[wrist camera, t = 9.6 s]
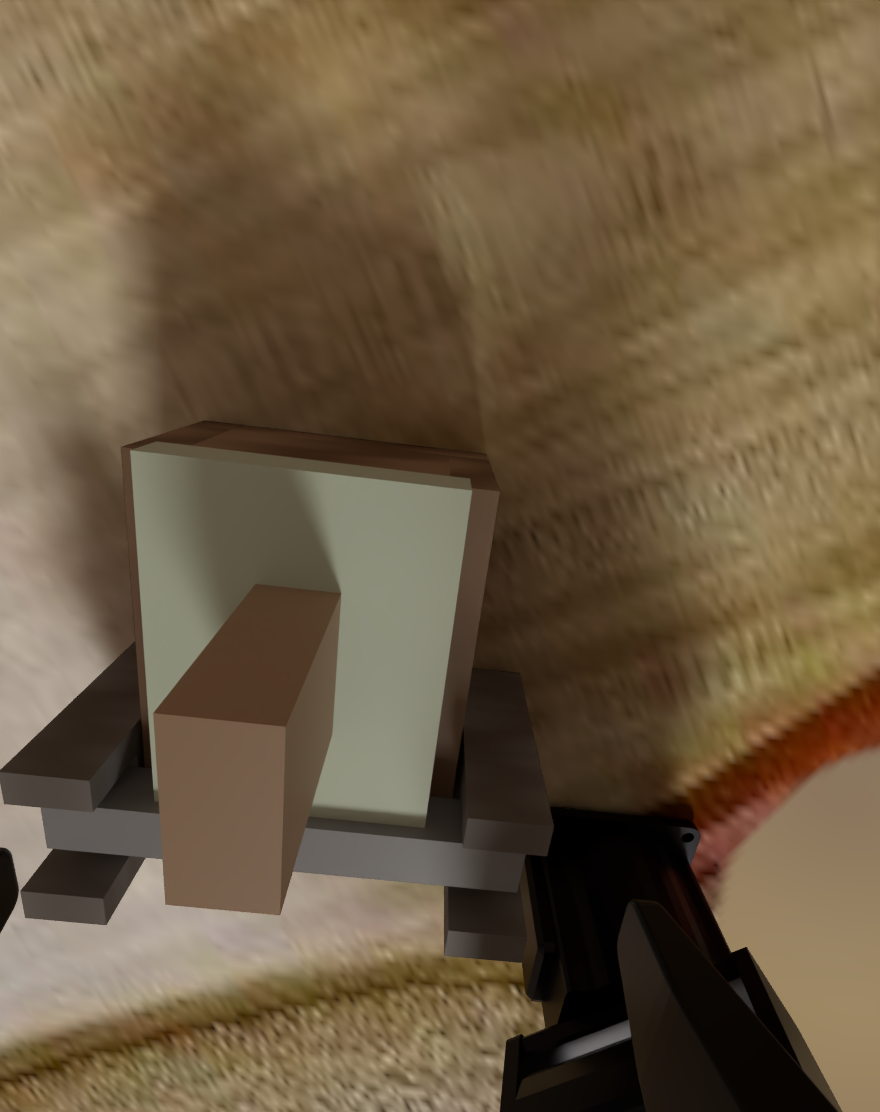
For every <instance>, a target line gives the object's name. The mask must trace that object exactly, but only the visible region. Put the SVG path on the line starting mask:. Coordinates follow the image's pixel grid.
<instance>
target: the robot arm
mask: <svg viewBox="0 0 880 1112" xmlns="http://www.w3.org/2000/svg"><path fill="white" fill-rule="evenodd" d="M550 811H551V815H552V820H554V819H555V821H553V824H554V829H553V833H552V837H551V841H550V846H549V850H548V854H547V856H538V855H528V854H526V855H525V860H524V864H523V869H522V873H521V878H520V889H521V896H522V903H523V910H524V917H525V925H526V932H527V941H526V945H525V950H524V954H523V958H522V968H523V976H524V984H525V992H526V994H527V996H528V997H529V998H530V999H531V1001H535V1002H542V1008H543V1014H544V1021H545V1029H543V1030H540V1031H538V1032H535V1033H532V1034H530V1035H527V1036H525V1037H524V1036H523V1035H522V1034H521V1035H518V1036H515V1037H513V1038H510V1039H508V1040H507V1041H506V1050H505V1061H504V1072H503V1083H502V1094H501V1105H500V1112H842V1110H841V1108H840V1106H839V1105H838V1102H837V1100H836V1098H835V1097H834V1095H833V1093H832V1091H831V1089H830V1087H829V1085H828V1084H827V1082H826V1080H825V1078H824V1076H823V1074H822V1073H821V1070H820V1069H819V1067H818V1065H817V1063H816V1061H815V1059H814V1057H813V1056H812V1054H811V1052H810V1050H809V1048H808V1046H807V1044H806V1042H805V1040H804V1039H803V1037H802V1035H801V1033H800V1031H799V1029H798V1028H797V1026H796V1025H795V1023H794V1021H793V1020H792V1018H791V1016H790V1015H789V1013H788V1012H787V1010H786V1009H785V1007H784V1005H783V1004H782V1002H781V1001H780V999H779V997H778V996H777V995H776V993H775V991H774V990H773V988H772V986H771V985H770V983H769V982H768V980H767V978H766V977H765V975H764V974H763V972H762V971H761V969H760V967H759V966H758V964H757V963H756V961H755V960H754V958H753V956H752V955H751V953H750V952H749V950H748V948H747V947H745V948H742V949H740V950H737V951H735V952H732V953H731V951H730V949H729V947H728V945H727V943H726V941H725V938H724V936H723V934H722V932H721V930H720V928H719V926H718V923H717V921H716V919H715V917H714V915H713V913H712V911H711V909H710V906H709V904H708V902H707V900H706V898H705V896H704V894H703V892H702V889H701V887H700V885H699V883H698V881H697V879H696V877H695V875H694V872H693V870H692V868H691V866H690V865H691V863H692V860H693V857H694V854H695V852H696V849H697V846H698V843H699V840H700V833H699V831H698V829H697V827H696V825H695V824H694V823H693V822H691V821H687V820H678V819H668V818H658V817H648V816H637V815H627V814H617V813H607V812H597V811H587V810H577V809H567V808H557V807H550ZM686 833H687V834H686ZM684 834H685V835H684ZM18 892H19V888H18V882H17V877H16V873H15V868H14V863H13V858H12V854H11V852H10V851H9V850H8V849H6V848H0V933H1V931H2V929H3V927H4V926H5V924H6V922H7V920H8V918H9V916H10V915H11V913H12V911H13V909H14V907H15V904H16V902H17V898H18Z"/></svg>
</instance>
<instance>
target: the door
mask: <svg viewBox="0 0 880 1112" xmlns="http://www.w3.org/2000/svg"><path fill="white" fill-rule="evenodd" d="M130 455H131V469H132V484H133V498H134V513H135V528H136V542H137V557H138V571H139V586H140V601H141V615H142V630H143V644H144V659H145V674H146V688H147V703H148V717H149V732H150V746H151V761H152V768H142V767H132V766H128V767H127V768H126V769H125V771H124V772H123V773H122V775H121V776H120V777H119V779H118V780H117V781H116V783H115V784H114V785H113V787H112V788H111V789H110V791H109V792H108V793H107V795H106V796H105V797H104V799H103V800H102V801H101V803H100V804H99V805H98V807H97V808H96V809H95V811H94V812H83V811H72V810H62V809H52V808H41V812H42V819H43V825H44V831H45V838H46V844H47V848H51V849H62V850H72V851H83V852H93V853H104V854H114V855H125V856H135V857H146V858H156V859H163V873H164V889H165V904H166V905H176V906H186V907H197V908H208V909H219V910H230V911H240V912H251V913H262V914H273V915H280V914H281V910H282V907H283V903H284V900H285V896H286V893H287V889H288V886H289V883H290V879H291V876H292V872H304V873H314V874H325V875H335V876H346V877H356V878H367V879H377V880H388V881H398V882H409V883H420V884H430V885H441V886H451V887H462V888H472V889H483V890H493V891H504V892H514V893H517V891H518V887H519V882H520V878H521V873H522V869H523V864H524V860H525V855H526V854H517V853H507V852H497V851H486V850H476V849H465V848H463V845H462V816H461V799H451V798H442V797H432V796H429V794H430V787H431V780H432V773H433V765H434V758H435V751H436V744H437V737H438V730H439V723H440V716H441V709H442V702H443V695H444V687H445V680H446V673H447V666H448V659H449V652H450V645H451V638H452V631H453V624H454V616H455V609H456V602H457V595H458V588H459V581H460V574H461V567H462V560H463V553H464V545H465V538H466V531H467V524H468V517H469V510H470V503H471V496H472V487H471V481H470V479H469V478H461V477H452V476H444V475H436V474H427V473H419V472H410V471H402V470H393V469H385V468H377V467H368V466H360V465H351V464H343V463H334V462H326V461H318V460H309V459H301V458H292V457H284V456H275V455H267V454H258V453H250V452H242V451H233V450H225V449H216V448H208V447H199V446H191V445H183V444H174V443H166V442H157V441H156V442H153V443H150V444H147V445H144V446H141V447H138V448H135V449H132V450H130Z"/></svg>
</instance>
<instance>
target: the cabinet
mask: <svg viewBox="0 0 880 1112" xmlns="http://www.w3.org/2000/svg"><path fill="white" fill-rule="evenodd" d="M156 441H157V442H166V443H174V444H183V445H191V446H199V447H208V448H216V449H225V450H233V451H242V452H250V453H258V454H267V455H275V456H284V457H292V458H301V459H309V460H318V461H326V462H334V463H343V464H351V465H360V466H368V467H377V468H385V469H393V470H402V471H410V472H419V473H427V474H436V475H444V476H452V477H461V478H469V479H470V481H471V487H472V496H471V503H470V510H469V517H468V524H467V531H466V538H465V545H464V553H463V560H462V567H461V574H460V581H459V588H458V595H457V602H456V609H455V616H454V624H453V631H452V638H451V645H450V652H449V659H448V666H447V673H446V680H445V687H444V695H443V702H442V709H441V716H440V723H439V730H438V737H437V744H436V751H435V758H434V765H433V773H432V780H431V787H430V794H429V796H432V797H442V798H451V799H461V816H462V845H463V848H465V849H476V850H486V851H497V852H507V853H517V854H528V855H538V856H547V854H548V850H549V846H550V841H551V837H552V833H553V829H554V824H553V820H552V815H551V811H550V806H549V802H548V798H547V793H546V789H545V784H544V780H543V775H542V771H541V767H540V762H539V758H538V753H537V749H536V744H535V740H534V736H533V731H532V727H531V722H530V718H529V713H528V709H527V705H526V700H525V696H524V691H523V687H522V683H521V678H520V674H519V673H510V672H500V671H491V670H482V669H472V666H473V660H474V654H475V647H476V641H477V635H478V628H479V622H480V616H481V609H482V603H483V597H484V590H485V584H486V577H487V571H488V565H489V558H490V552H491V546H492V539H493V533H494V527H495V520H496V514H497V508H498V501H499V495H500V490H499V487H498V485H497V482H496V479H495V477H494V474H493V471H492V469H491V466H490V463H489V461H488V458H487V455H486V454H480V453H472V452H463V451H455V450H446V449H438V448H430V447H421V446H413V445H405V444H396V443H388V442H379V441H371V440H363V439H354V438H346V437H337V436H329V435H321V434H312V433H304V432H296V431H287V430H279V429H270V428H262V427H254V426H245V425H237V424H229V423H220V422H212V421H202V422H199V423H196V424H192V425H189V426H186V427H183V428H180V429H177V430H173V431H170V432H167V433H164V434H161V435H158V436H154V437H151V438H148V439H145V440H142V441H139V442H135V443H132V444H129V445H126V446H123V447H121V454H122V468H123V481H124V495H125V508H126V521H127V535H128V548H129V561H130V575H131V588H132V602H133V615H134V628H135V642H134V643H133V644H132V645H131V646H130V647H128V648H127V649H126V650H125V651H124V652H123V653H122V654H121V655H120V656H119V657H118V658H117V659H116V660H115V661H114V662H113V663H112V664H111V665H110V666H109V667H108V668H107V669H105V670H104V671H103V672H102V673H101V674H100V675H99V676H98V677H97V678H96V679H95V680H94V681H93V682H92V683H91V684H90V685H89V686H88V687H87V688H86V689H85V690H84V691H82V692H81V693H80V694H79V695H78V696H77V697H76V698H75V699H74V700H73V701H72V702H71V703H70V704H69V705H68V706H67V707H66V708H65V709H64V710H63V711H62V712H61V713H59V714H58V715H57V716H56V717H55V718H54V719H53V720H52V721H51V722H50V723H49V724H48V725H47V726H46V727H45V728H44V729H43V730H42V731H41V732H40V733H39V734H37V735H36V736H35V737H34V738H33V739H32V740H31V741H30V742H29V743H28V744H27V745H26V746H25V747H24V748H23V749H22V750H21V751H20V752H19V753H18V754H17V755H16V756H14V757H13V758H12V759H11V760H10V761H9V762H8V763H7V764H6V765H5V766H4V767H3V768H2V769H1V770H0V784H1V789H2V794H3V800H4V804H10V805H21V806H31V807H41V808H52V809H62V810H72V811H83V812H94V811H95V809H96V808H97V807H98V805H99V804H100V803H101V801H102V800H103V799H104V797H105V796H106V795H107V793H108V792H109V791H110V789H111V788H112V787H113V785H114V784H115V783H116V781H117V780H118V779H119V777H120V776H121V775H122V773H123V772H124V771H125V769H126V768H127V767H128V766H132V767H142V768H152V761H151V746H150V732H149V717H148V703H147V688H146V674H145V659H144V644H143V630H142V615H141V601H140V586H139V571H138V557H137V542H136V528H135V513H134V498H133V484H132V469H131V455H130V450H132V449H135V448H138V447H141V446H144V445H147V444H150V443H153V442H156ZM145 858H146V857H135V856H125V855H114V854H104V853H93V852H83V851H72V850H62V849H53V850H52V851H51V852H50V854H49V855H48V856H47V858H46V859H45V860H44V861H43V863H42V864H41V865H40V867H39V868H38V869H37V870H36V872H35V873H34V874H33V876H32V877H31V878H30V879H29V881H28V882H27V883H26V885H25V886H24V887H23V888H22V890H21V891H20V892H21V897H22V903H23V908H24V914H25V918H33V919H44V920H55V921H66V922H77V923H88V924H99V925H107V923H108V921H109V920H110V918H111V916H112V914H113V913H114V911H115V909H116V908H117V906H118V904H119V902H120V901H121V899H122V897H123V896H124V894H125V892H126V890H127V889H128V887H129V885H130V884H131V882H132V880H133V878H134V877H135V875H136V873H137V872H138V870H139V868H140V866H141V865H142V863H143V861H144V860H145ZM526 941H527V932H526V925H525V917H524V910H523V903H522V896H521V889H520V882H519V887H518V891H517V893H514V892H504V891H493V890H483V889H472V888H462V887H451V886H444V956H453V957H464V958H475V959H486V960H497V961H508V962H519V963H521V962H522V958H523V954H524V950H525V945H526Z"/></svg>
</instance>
